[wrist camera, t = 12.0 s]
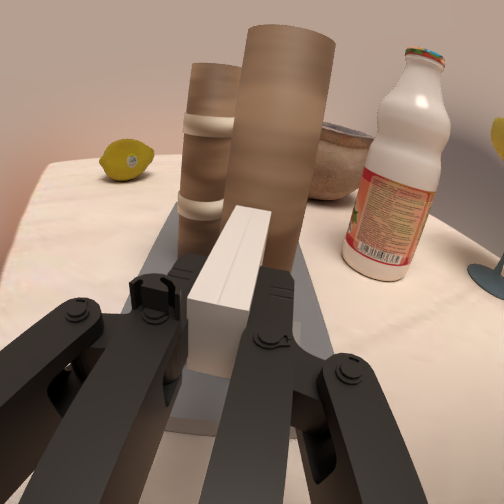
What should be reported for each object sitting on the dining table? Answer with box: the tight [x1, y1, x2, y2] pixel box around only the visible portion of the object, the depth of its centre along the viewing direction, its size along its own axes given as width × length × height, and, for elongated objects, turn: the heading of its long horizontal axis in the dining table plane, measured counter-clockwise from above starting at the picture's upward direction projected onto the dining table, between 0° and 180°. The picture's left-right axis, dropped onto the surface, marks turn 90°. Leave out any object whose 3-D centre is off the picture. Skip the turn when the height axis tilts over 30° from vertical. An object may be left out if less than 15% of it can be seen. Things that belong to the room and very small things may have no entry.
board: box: [121, 202, 334, 439], centre depth 29 cm, size 16×32×5 cm, turn 1°
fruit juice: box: [342, 47, 451, 281], centre depth 32 cm, size 9×9×28 cm
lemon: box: [99, 139, 154, 181], centre depth 53 cm, size 11×8×8 cm
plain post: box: [220, 24, 336, 274], centre depth 15 cm, size 4×4×18 cm
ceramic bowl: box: [308, 122, 375, 200], centre depth 59 cm, size 22×22×15 cm
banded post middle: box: [177, 63, 242, 259], centre depth 26 cm, size 4×4×18 cm
